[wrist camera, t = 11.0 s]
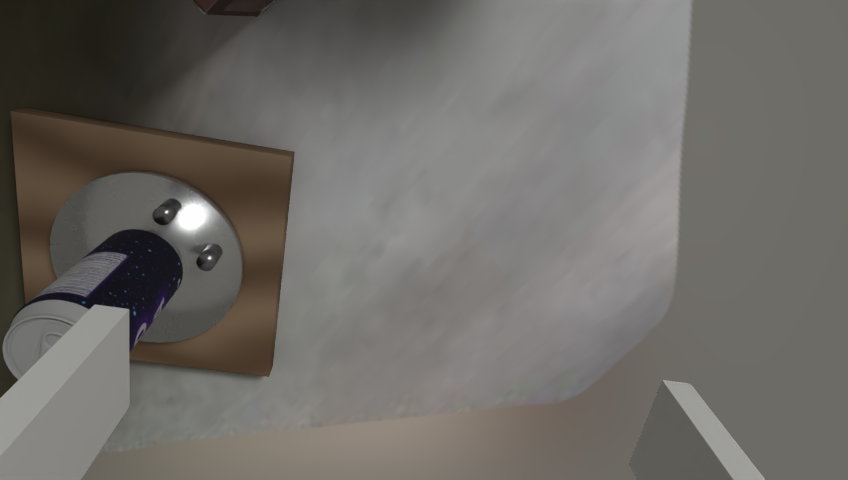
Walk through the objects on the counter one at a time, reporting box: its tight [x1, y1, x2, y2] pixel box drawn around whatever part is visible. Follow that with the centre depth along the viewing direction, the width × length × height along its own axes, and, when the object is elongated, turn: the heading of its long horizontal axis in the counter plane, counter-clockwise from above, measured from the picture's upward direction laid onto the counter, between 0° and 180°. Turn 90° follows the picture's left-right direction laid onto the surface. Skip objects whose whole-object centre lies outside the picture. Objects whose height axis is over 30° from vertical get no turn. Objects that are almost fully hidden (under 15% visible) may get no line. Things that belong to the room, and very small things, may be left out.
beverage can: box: [3, 229, 183, 380], centre depth 35 cm, size 6×6×12 cm
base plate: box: [11, 107, 295, 377], centre depth 42 cm, size 18×18×2 cm
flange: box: [50, 170, 245, 343], centre depth 40 cm, size 13×13×3 cm
